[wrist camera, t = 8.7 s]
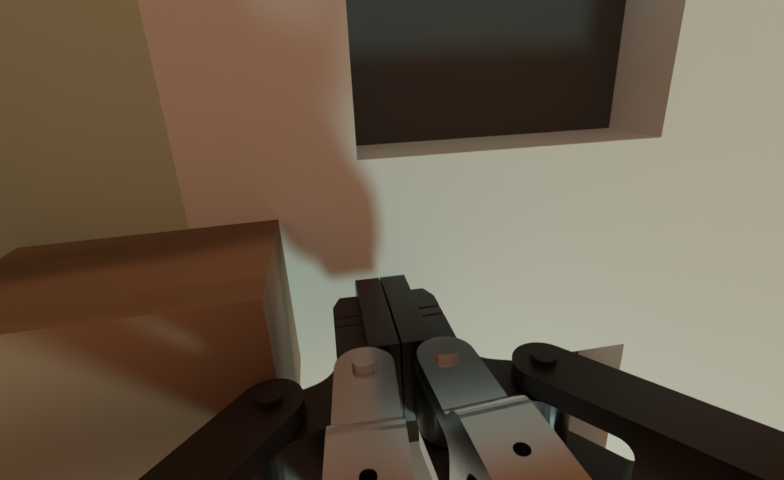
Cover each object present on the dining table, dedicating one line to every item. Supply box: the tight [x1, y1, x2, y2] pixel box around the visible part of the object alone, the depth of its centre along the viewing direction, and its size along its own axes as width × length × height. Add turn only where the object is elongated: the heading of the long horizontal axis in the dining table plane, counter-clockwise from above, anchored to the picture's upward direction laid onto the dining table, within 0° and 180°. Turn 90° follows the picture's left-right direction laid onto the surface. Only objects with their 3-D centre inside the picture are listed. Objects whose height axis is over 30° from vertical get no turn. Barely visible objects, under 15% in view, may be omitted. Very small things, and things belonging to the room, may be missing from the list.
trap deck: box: [0, 0, 784, 480], centre depth 15 cm, size 24×38×6 cm, turn 92°
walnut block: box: [0, 219, 301, 480], centre depth 11 cm, size 5×7×5 cm
